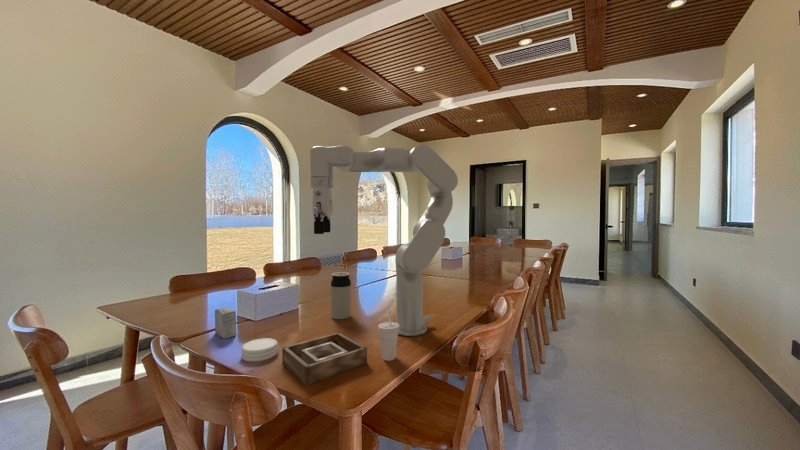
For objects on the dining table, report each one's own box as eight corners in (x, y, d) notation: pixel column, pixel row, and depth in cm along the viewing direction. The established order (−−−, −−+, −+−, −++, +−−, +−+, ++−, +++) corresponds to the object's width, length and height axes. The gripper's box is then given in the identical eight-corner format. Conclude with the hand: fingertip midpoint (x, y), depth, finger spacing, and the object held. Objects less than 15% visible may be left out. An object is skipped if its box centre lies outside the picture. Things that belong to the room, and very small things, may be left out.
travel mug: (349, 320, 130) (348, 275, 129) (329, 319, 130) (328, 275, 129) (352, 313, 138) (352, 271, 137) (333, 313, 138) (333, 271, 137)
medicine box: (236, 335, 113) (236, 311, 113) (222, 339, 110) (222, 313, 109) (228, 330, 118) (227, 306, 118) (214, 333, 115) (214, 309, 115)
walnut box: (338, 346, 103) (338, 332, 103) (367, 363, 91) (367, 348, 91) (282, 362, 92) (282, 347, 92) (306, 385, 80) (306, 367, 80)
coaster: (240, 365, 91) (240, 353, 91) (242, 351, 100) (242, 340, 100) (278, 359, 95) (278, 347, 95) (277, 346, 104) (276, 335, 104)
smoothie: (403, 356, 96) (403, 309, 96) (391, 364, 91) (391, 315, 90) (385, 351, 100) (385, 306, 99) (373, 359, 94) (373, 311, 94)
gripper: (327, 180, 102) (327, 234, 103) (337, 185, 120) (338, 231, 120) (303, 180, 102) (304, 234, 103) (317, 185, 120) (318, 231, 120)
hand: (322, 233), depth 112 cm, fingers open, 9 cm apart
